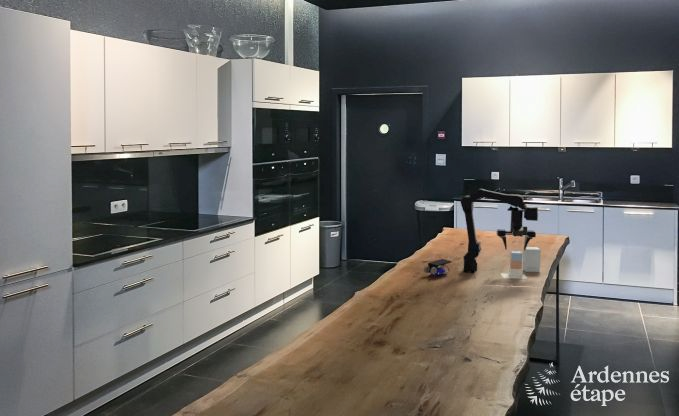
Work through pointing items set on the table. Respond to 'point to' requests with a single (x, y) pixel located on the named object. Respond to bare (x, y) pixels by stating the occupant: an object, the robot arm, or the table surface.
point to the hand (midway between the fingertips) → (515, 250)
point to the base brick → (515, 272)
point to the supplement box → (531, 259)
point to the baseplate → (512, 277)
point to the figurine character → (434, 268)
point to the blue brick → (516, 256)
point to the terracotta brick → (515, 264)
